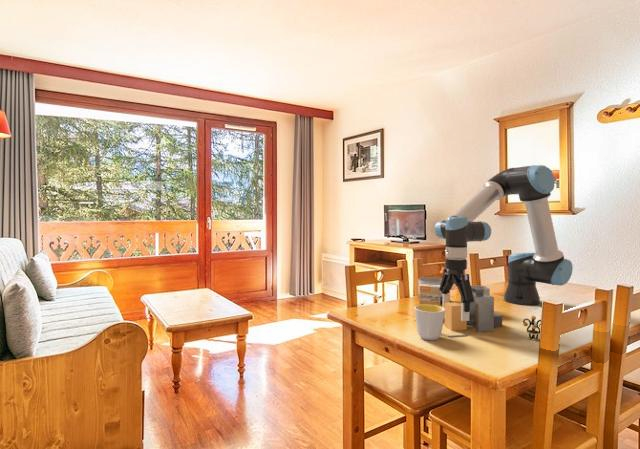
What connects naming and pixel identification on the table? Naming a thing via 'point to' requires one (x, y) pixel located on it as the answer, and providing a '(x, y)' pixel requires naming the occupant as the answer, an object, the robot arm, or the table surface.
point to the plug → (455, 321)
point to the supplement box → (429, 294)
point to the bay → (457, 335)
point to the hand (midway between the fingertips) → (455, 315)
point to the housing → (482, 310)
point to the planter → (431, 282)
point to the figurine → (534, 326)
